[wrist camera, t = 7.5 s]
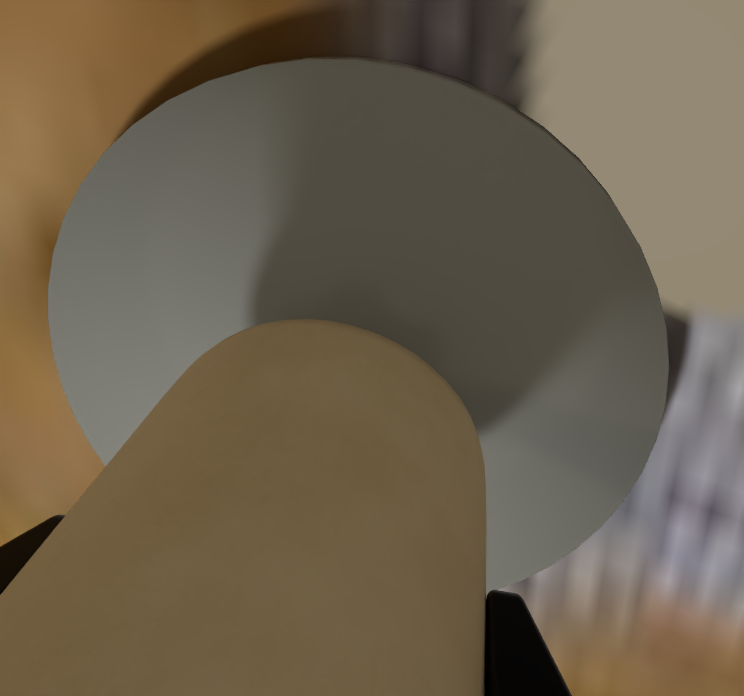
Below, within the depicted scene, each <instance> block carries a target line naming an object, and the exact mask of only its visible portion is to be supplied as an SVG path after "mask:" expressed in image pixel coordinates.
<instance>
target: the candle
mask: <svg viewBox="0 0 744 696" xmlns="http://www.w3.org/2000/svg"><path fill="white" fill-rule="evenodd" d="M485 651H486V479H485V463H484V459H483V454H482V450H481V445H480V441H479V437H478V434H477V431H476V429H475V426H474V424H473V421H472V418H471V416H470V414H469V413H468V411H467V409H466V407H465V406H464V404H463V402H462V400H461V399H460V398H459V396H458V395H457V394H456V392H455V391H454V390H453V388H452V387H451V386H450V385H449V383H448V382H447V381H446V380H445V379H444V378H443V377H442V376H441V375H440V374H439V373H438V372H437V371H436V370H435V369H434V368H433V367H431V366H430V365H429V364H428V363H426V362H425V361H424V360H422V359H421V358H420V357H419V356H417V355H416V354H415V353H413V352H411V351H410V350H408V349H406V348H405V347H403V346H401V345H400V344H398V343H396V342H394V341H392V340H390V339H388V338H386V337H383V336H381V335H379V334H377V333H374V332H372V331H368V330H365V329H362V328H359V327H356V326H353V325H348V324H343V323H338V322H333V321H327V320H314V319H293V320H280V321H275V322H269V323H263V324H260V325H257V326H254V327H250V328H247V329H244V330H242V331H240V332H238V333H236V334H234V335H232V336H229V337H227V338H226V339H224V340H223V341H221V342H220V343H218V344H217V345H215V346H214V347H212V348H211V349H210V350H208V351H207V352H205V353H204V354H203V355H201V356H200V357H199V358H198V359H197V360H196V361H195V362H194V363H193V364H192V365H191V366H190V367H189V368H188V369H187V370H186V371H185V372H184V373H183V374H182V375H181V377H180V378H179V379H178V380H177V381H176V382H175V383H174V385H173V386H172V387H171V388H170V389H169V390H168V391H167V393H166V394H165V395H164V396H163V397H162V399H161V400H160V401H159V402H158V403H157V405H156V406H155V407H154V408H153V410H152V411H151V412H150V413H149V414H148V416H147V417H146V418H145V419H144V420H143V422H142V423H141V424H140V425H139V427H138V428H137V429H136V430H135V431H134V433H133V434H132V435H131V436H130V438H129V439H128V440H127V441H126V442H125V444H124V445H123V446H122V447H121V449H120V450H119V451H118V452H117V453H116V455H115V456H114V457H113V458H112V460H111V461H110V462H109V463H108V464H107V466H106V467H105V468H104V469H103V471H102V472H101V473H100V474H99V475H98V477H97V478H96V479H95V480H94V481H93V483H92V484H91V485H90V486H89V488H88V489H87V490H86V491H85V492H84V494H83V495H82V496H81V497H80V499H79V500H78V501H77V502H76V503H75V505H74V506H73V507H72V508H71V510H70V511H69V512H68V513H67V514H66V516H65V517H64V518H63V519H62V521H61V522H60V523H59V524H58V525H57V527H56V528H55V529H54V530H53V532H52V533H51V534H50V535H49V536H48V538H47V539H46V540H45V541H44V542H43V544H42V545H41V546H40V547H39V549H38V550H37V551H36V552H35V553H34V555H33V556H32V557H31V558H30V560H29V561H28V562H27V563H26V564H25V566H24V567H23V568H22V569H21V571H20V572H19V573H18V574H17V575H16V577H15V578H14V579H13V580H12V582H11V583H10V584H9V585H8V586H7V588H6V589H5V590H4V591H3V593H2V594H1V595H0V696H485Z"/></svg>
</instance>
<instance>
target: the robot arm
mask: <svg viewBox="0 0 744 696" xmlns="http://www.w3.org/2000/svg"><path fill="white" fill-rule="evenodd" d="M65 516H66V515H56V516H53V517H51V518H49V519H47V520H46V521H44V522H42V523H41V524H39V525H37V526H35V527H34V528H32V529H30V530H28V531H27V532H25V533H23V534H21V535H20V536H18V537H16V538H14V539H13V540H11V541H9V542H8V543H6V544H4V545H2V546H1V547H0V595H1V594H2V593H3V591H4V590H5V589H6V588H7V586H8V585H9V584H10V583H11V582H12V580H13V579H14V578H15V577H16V575H17V574H18V573H19V572H20V571H21V569H22V568H23V567H24V566H25V564H26V563H27V562H28V561H29V560H30V558H31V557H32V556H33V555H34V553H35V552H36V551H37V550H38V549H39V547H40V546H41V545H42V544H43V542H44V541H45V540H46V539H47V538H48V536H49V535H50V534H51V533H52V532H53V530H54V529H55V528H56V527H57V525H58V524H59V523H60V522H61V521H62V519H63V518H64V517H65ZM485 696H572V695H571V693H570V691H569V689H568V687H567V685H566V683H565V681H564V679H563V677H562V675H561V673H560V671H559V669H558V667H557V665H556V663H555V661H554V659H553V657H552V655H551V654H550V652H549V650H548V648H547V646H546V644H545V642H544V640H543V638H542V636H541V634H540V632H539V630H538V628H537V626H536V624H535V622H534V620H533V618H532V616H531V614H530V612H529V610H528V608H527V606H526V604H525V602H524V600H523V599H522V597H521V596H519V595H518V594H515V593H510V592H504V591H498V590H491V591H490V592H489V593H488V595H487V599H486V651H485Z"/></svg>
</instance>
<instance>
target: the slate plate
mask: <svg viewBox="0 0 744 696" xmlns="http://www.w3.org/2000/svg"><path fill="white" fill-rule="evenodd" d="M293 319H314V320H327V321H333V322H338V323H343V324H348V325H353V326H356V327H359V328H362V329H365V330H368V331H372V332H374V333H377V334H379V335H381V336H383V337H386V338H388V339H390V340H392V341H394V342H396V343H398V344H400V345H401V346H403V347H405V348H406V349H408V350H410V351H411V352H413V353H415V354H416V355H417V356H419V357H420V358H421V359H422V360H424V361H425V362H426V363H428V364H429V365H430V366H431V367H433V368H434V369H435V370H436V371H437V372H438V373H439V374H440V375H441V376H442V377H443V378H444V379H445V380H446V381H447V382H448V383H449V385H450V386H451V387H452V388H453V390H454V391H455V392H456V394H457V395H458V396H459V398H460V399H461V400H462V402H463V404H464V406H465V407H466V409H467V411H468V413H469V414H470V416H471V418H472V421H473V424H474V426H475V429H476V431H477V434H478V437H479V441H480V445H481V450H482V454H483V459H484V463H485V479H486V593H489V592H490V591H491V590H498V589H501V588H503V587H506V586H509V585H511V584H514V583H517V582H519V581H522V580H524V579H526V578H528V577H530V576H531V575H533V574H535V573H537V572H539V571H541V570H543V569H545V568H547V567H549V566H551V565H552V564H554V563H555V562H557V561H558V560H560V559H561V558H563V557H564V556H566V555H567V554H569V553H570V552H572V551H573V550H575V549H576V548H577V547H579V546H580V545H581V544H582V543H583V542H584V541H585V540H587V539H588V538H589V537H590V536H591V535H592V534H593V533H595V532H596V531H597V530H598V529H599V528H600V527H601V526H602V525H603V524H604V523H605V522H606V521H607V520H608V518H609V517H610V516H611V515H612V514H613V513H614V512H615V510H616V509H617V508H618V507H619V506H620V505H621V503H622V502H623V501H624V500H625V498H626V496H627V495H628V493H629V492H630V490H631V489H632V487H633V486H634V484H635V482H636V481H637V479H638V478H639V476H640V475H641V473H642V471H643V469H644V467H645V464H646V462H647V460H648V458H649V455H650V453H651V451H652V449H653V446H654V444H655V442H656V439H657V435H658V432H659V428H660V424H661V420H662V417H663V413H664V409H665V405H666V395H667V385H668V375H669V357H668V342H667V328H666V324H665V319H664V315H663V311H662V306H661V302H660V298H659V293H658V289H657V286H656V284H655V281H654V279H653V276H652V274H651V271H650V269H649V266H648V264H647V262H646V259H645V257H644V254H643V252H642V249H641V247H640V245H639V244H638V242H637V240H636V239H635V237H634V235H633V234H632V232H631V230H630V229H629V227H628V225H627V224H626V222H625V221H624V219H623V217H622V216H621V214H620V212H619V211H618V209H617V207H616V206H615V204H614V202H613V201H612V199H611V197H610V196H609V194H608V193H607V192H606V190H605V189H604V188H603V187H602V186H601V184H600V183H599V182H598V181H597V179H596V178H595V177H594V176H593V175H592V174H591V172H590V171H589V170H588V169H587V168H586V166H585V165H584V164H583V163H582V162H581V160H580V159H579V158H578V157H577V156H576V155H575V154H573V153H572V152H571V151H570V150H569V149H568V148H567V147H566V146H564V145H563V144H562V143H561V142H560V141H559V140H558V139H556V137H554V136H553V135H552V134H551V133H550V132H549V131H548V130H547V129H545V128H544V127H543V126H542V125H540V124H539V123H537V122H536V121H534V120H533V119H531V118H529V117H528V116H526V115H525V114H523V113H522V112H520V111H519V110H517V109H516V108H514V107H513V106H511V105H510V104H508V103H507V102H505V101H504V100H502V99H500V98H498V97H496V96H494V95H491V94H489V93H487V92H485V91H483V90H481V89H479V88H477V87H474V86H472V85H470V84H468V83H466V82H464V81H462V80H460V79H457V78H454V77H451V76H447V75H444V74H441V73H437V72H434V71H431V70H428V69H424V68H421V67H418V66H415V65H411V64H405V63H399V62H393V61H386V60H380V59H373V58H367V57H330V56H314V57H306V58H299V59H292V60H285V61H278V62H271V63H266V64H263V65H260V66H256V67H253V68H250V69H246V70H243V71H240V72H236V73H233V74H229V75H226V76H223V77H220V78H216V79H213V80H210V81H207V82H205V83H203V84H201V85H199V86H197V87H195V88H193V89H190V90H188V91H186V92H184V93H182V94H180V95H178V96H176V97H174V98H172V99H170V100H168V101H166V102H165V103H163V104H162V105H160V106H159V107H157V108H156V109H155V110H153V111H152V112H150V113H149V114H147V115H146V116H145V117H143V118H142V119H140V120H139V121H137V122H136V123H135V124H133V125H132V126H131V127H130V128H129V129H128V130H127V131H126V132H125V133H124V134H123V135H122V136H121V137H120V138H119V139H118V140H117V141H116V142H115V143H114V144H112V145H111V146H110V147H109V148H108V149H107V150H106V151H105V152H104V153H103V155H102V156H101V157H100V159H99V160H98V161H97V163H96V164H95V166H94V167H93V168H92V170H91V171H90V172H89V174H88V175H87V177H86V178H85V179H84V181H83V182H82V184H81V185H80V187H79V189H78V191H77V193H76V195H75V197H74V199H73V201H72V203H71V205H70V207H69V209H68V211H67V213H66V215H65V217H64V219H63V223H62V226H61V229H60V232H59V236H58V239H57V242H56V245H55V249H54V252H53V258H52V265H51V272H50V279H49V286H48V322H49V329H50V336H51V343H52V349H53V356H54V359H55V363H56V366H57V370H58V373H59V377H60V380H61V384H62V387H63V390H64V392H65V394H66V397H67V399H68V402H69V404H70V406H71V409H72V411H73V413H74V416H75V418H76V420H77V422H78V423H79V425H80V427H81V429H82V430H83V432H84V434H85V436H86V438H87V439H88V441H89V443H90V445H91V446H92V448H93V449H94V451H95V452H96V453H97V455H98V456H99V458H100V459H101V460H102V462H103V463H104V465H105V466H107V464H108V463H109V462H110V461H111V460H112V458H113V457H114V456H115V455H116V453H117V452H118V451H119V450H120V449H121V447H122V446H123V445H124V444H125V442H126V441H127V440H128V439H129V438H130V436H131V435H132V434H133V433H134V431H135V430H136V429H137V428H138V427H139V425H140V424H141V423H142V422H143V420H144V419H145V418H146V417H147V416H148V414H149V413H150V412H151V411H152V410H153V408H154V407H155V406H156V405H157V403H158V402H159V401H160V400H161V399H162V397H163V396H164V395H165V394H166V393H167V391H168V390H169V389H170V388H171V387H172V386H173V385H174V383H175V382H176V381H177V380H178V379H179V378H180V377H181V375H182V374H183V373H184V372H185V371H186V370H187V369H188V368H189V367H190V366H191V365H192V364H193V363H194V362H195V361H196V360H197V359H198V358H199V357H200V356H201V355H203V354H204V353H205V352H207V351H208V350H210V349H211V348H212V347H214V346H215V345H217V344H218V343H220V342H221V341H223V340H224V339H226V338H227V337H229V336H232V335H234V334H236V333H238V332H240V331H242V330H244V329H247V328H250V327H254V326H257V325H260V324H263V323H269V322H275V321H280V320H293Z"/></svg>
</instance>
